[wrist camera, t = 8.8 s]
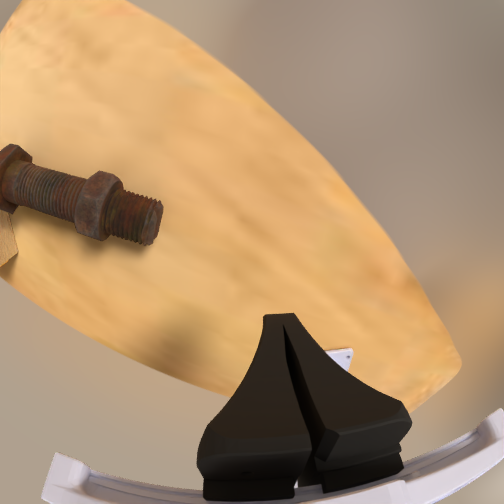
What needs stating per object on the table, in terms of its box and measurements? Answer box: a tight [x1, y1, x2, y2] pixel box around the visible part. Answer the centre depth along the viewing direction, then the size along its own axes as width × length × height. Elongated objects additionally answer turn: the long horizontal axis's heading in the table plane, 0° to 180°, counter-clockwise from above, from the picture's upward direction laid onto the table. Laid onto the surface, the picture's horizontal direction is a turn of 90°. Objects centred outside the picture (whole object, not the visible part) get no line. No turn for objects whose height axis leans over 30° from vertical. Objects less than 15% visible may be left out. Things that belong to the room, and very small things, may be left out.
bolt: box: [0, 144, 163, 246], centre depth 16 cm, size 6×5×15 cm
